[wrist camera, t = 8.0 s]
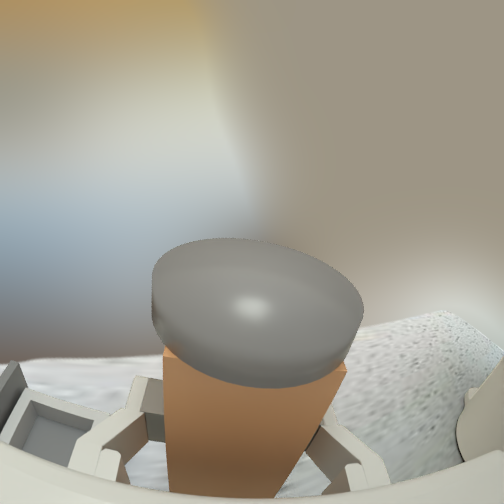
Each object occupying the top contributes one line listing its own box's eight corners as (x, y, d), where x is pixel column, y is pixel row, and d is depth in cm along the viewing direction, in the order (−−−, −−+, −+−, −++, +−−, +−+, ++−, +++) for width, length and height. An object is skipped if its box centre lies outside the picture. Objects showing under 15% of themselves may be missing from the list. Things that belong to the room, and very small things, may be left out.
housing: (130, 430, 21) (124, 393, 19) (101, 583, 8) (81, 576, 6) (27, 400, 20) (11, 360, 18) (-27, 525, 7) (-64, 497, 5)
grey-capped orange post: (259, 456, 15) (331, 251, 10) (266, 534, 11) (397, 355, 6) (169, 448, 15) (172, 229, 10) (159, 527, 10) (124, 331, 5)
